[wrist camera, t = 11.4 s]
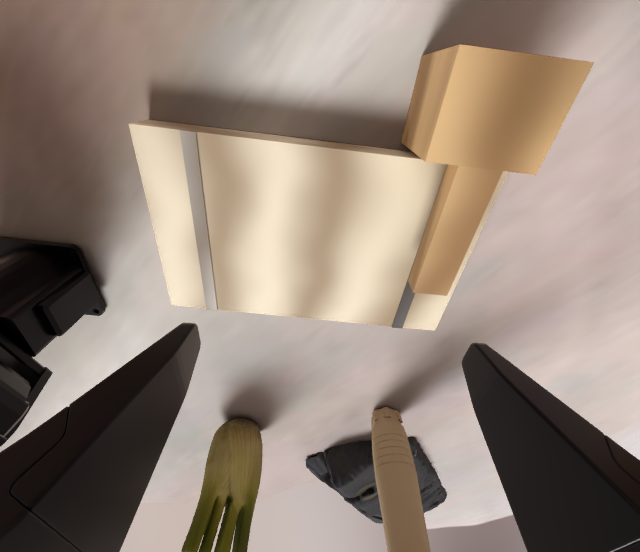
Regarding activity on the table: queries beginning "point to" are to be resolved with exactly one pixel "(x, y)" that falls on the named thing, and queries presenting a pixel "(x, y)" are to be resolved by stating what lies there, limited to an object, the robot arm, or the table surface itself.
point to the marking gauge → (480, 138)
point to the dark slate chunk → (371, 476)
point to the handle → (397, 484)
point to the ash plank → (290, 223)
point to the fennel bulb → (228, 489)
